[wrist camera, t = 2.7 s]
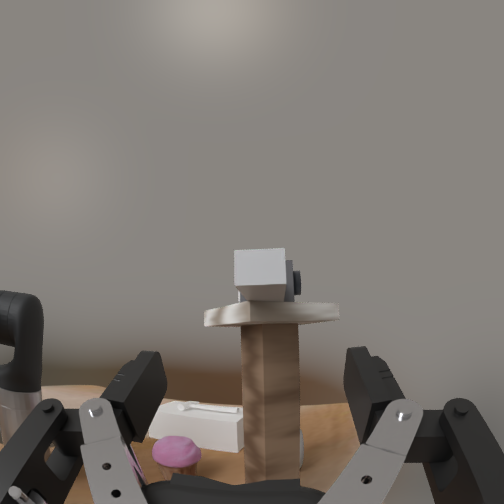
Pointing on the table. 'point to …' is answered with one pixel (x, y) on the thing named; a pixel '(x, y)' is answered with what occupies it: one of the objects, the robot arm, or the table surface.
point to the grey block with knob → (265, 276)
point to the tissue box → (200, 425)
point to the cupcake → (176, 455)
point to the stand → (271, 380)
